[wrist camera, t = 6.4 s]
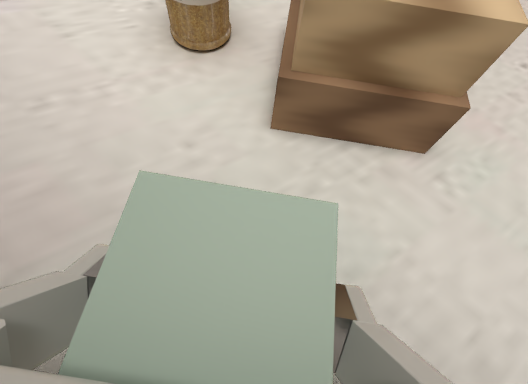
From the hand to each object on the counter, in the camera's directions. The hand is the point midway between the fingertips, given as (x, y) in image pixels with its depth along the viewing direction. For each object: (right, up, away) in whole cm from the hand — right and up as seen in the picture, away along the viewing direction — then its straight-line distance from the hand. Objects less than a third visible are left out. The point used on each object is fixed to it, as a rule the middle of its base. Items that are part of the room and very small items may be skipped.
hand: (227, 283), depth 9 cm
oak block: (+8, +13, +8) cm, 17 cm away
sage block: (0, -3, +4) cm, 5 cm away
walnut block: (+7, +10, +12) cm, 17 cm away
